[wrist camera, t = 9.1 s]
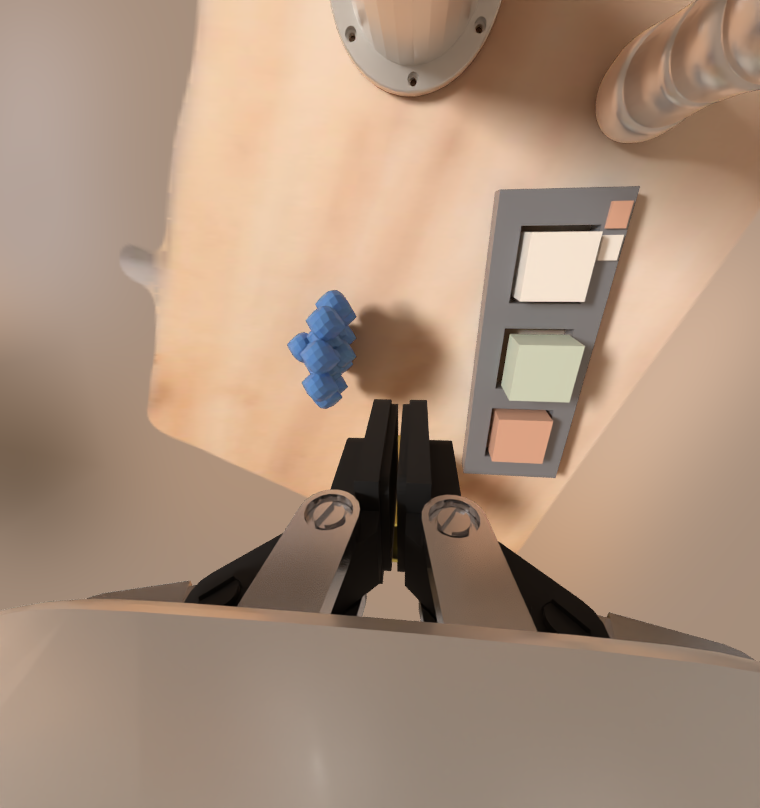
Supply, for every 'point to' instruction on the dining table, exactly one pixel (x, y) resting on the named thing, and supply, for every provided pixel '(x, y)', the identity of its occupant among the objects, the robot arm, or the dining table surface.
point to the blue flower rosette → (326, 348)
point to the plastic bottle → (680, 69)
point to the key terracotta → (518, 435)
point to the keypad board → (539, 310)
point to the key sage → (541, 367)
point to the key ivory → (554, 265)
